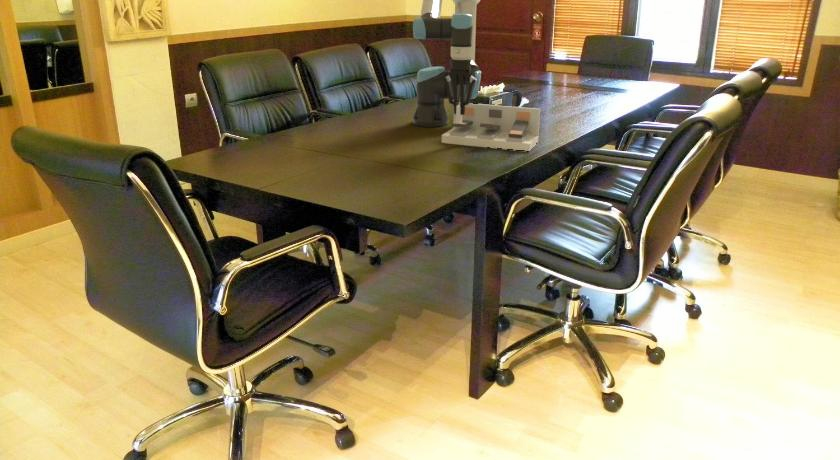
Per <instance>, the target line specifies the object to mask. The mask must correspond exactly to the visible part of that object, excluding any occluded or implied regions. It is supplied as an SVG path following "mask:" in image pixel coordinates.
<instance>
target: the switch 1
mask: <svg viewBox="0 0 840 460" xmlns="http://www.w3.org/2000/svg"><path fill="white" fill-rule="evenodd" d="M472 124H473V121H467V120H462V123H460V124H456V122H454V123H453V122H452V123H451V127H452V128H453V127H462V128H465V127H467V126H470V125H472Z"/></svg>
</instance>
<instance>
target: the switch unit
mask: <svg viewBox="0 0 840 460" xmlns="http://www.w3.org/2000/svg"><path fill="white" fill-rule="evenodd" d="M458 105H460V101H459V104H458ZM452 117H453V118H452V119H453V122H452V123H454V122H456V114H454V113H453V116H452ZM540 119H541V108H537V107H536V108H534V107H522V106H519V107H512V106H499V105H486V104H473V103H471V102H470V103H469V104H468V105H465V113H464V114H463V115H462V120H467V121H473V124H472V125H470V126H467V127H465V128H462V127H452V128H451V129H449V130H447V131H446V132H444V133H442V134H441V143H442V144H449V145H458V146H459V145H460V146H467V147H468V146H469V147H477V148H487V147H490V148H491V149H497V148H502V149H501V150H507V149H513V150H512V151H516V150H525V151H524V152H526V151H530V150H531V149H532V148H533V147H534V148H535V147H536V146H537V144H538V143H539V132H540V122H541V120H540ZM515 120H521V121H529V124H528V126H527V129H526V131H525V133H524V135H523V137H522V138H518V137H509V132H510V130H511V128H512V126H513V124H514V122H515ZM480 123H487V124H494V125H498V126H500V129H494V128H485V127H480ZM537 142H538V143H537ZM536 143H537V144H536ZM534 148H533V149H534ZM533 149H532V150H533ZM532 150H531V151H532ZM531 151H530V152H531Z"/></svg>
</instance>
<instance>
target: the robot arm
mask: <svg viewBox="0 0 840 460" xmlns="http://www.w3.org/2000/svg"><path fill="white" fill-rule="evenodd" d="M452 2H453V3H454V4H455V13H453V14H451V18H450V17H447V18H446V17H444V18H443V17H441V14H442V13H441V12H442V4H443V0H422V4H421V10H420V16H419V17H416V18H414V19H413V22H412V23H413V24H412V35H413V38H414V39H417V40H450V57H451V59H450V64H449V65H450V66H449V67H450V69H449V70H446V68H445V67H444V66H431V67H430V66H429V67H425V68H421V69H419V70H418V72H417V73H416V74H417V75H416V106H415V110H414V113H413V117H412V124H413V125H415V126H417V127H418V126H419V127H428V128H437V127H443V126H447V125H448V124H449V116H448V114H447V110H446V106H445V100H448V103H449V104H451V105H453V115H454V114H456V124H460V123H462V115H463V114H464V113H465V105H468V104H469V103H471V102H470V101H471V99H475V98H476V97H477V96H478V91H479V90H480V86H481V85H480V84H481V77H482V71H481V70H479V66H478V65H477V63H476V61H475V60H476V58H475V57H476V33H477V31H476V29H477V5H478V4H479V3H480V2H481V0H452ZM459 102H460V105H458V104H459Z"/></svg>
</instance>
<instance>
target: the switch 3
mask: <svg viewBox="0 0 840 460" xmlns="http://www.w3.org/2000/svg"><path fill="white" fill-rule="evenodd" d="M528 124H529V121H521V120H515V122H514V124H513V126H512V128H511V130H510V132H509V137H518V138H522V137H523V135H524V133H525V131H526V129H527V126H528Z"/></svg>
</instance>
